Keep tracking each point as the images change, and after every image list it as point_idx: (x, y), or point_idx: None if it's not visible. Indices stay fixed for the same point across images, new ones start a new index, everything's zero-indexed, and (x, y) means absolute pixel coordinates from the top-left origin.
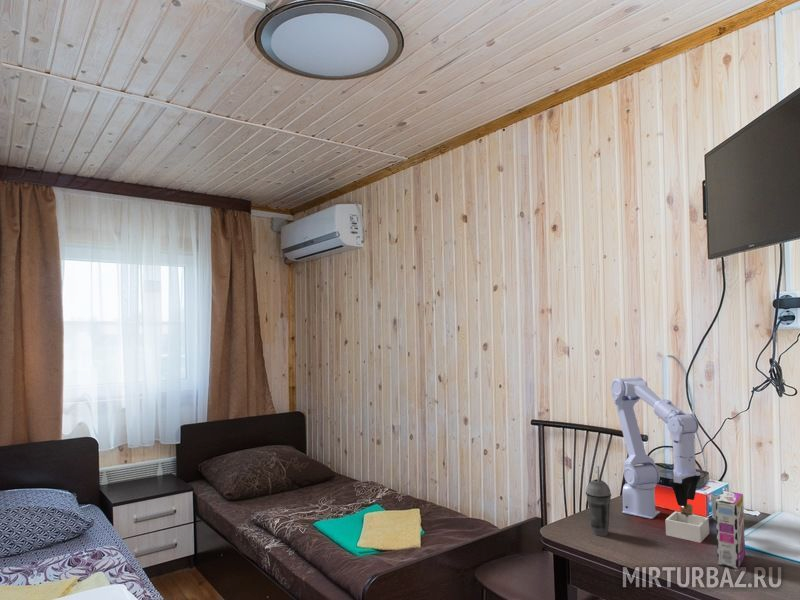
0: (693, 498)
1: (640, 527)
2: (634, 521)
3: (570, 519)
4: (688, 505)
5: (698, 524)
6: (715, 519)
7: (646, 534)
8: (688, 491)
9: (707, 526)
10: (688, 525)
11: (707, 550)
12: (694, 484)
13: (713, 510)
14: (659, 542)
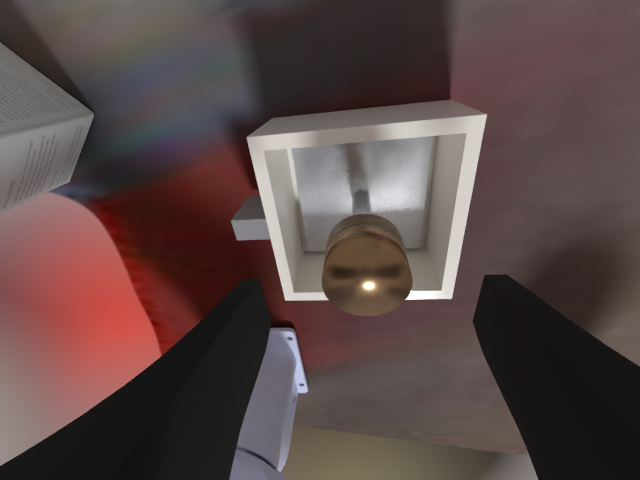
0: (256, 287)
1: (400, 329)
2: (353, 353)
3: (452, 442)
4: (366, 271)
5: (284, 177)
6: (76, 162)
7: (466, 299)
8: (633, 417)
9: (291, 124)
10: (469, 187)
11: (568, 14)
12: (176, 422)
13: (35, 188)
14: (543, 242)
